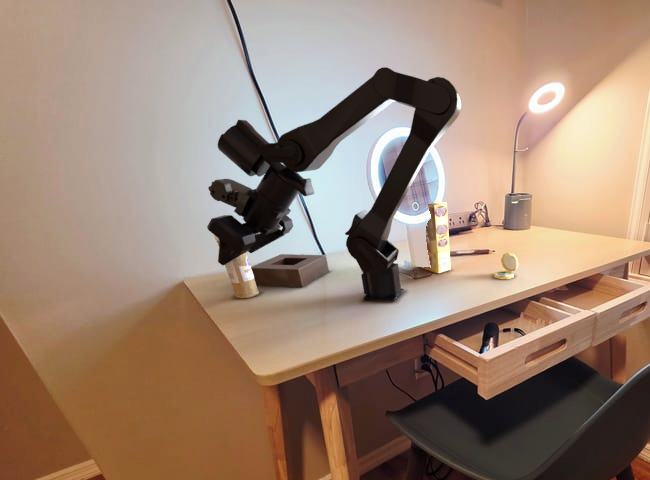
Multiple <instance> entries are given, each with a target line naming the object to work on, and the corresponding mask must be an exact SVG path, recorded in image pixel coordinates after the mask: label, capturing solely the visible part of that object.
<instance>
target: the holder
mask: <svg viewBox="0 0 650 480" xmlns="http://www.w3.org/2000/svg"><path fill="white" fill-rule="evenodd" d="M251 269H252V272H253V275H254V279H255V282H256V286H257V287H279V288H280V287H282V288H283V287H284V288H304V287H306V286H307V285H309V284H311V283H312V282H314V281H316V280H318V279H319V278H321V277H322V276H324V275H326V274H328V273H329V272H330V268H329V264H328V259H327V255H326V254H292V253H291V254H290V253H289V254H287V253H282V254H281V253H280V254H278V255H275V256H273V257H271V258H269V259H266V260H264V261H261V262H259V263H257V264H254V265H252V266H251Z"/></svg>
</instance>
